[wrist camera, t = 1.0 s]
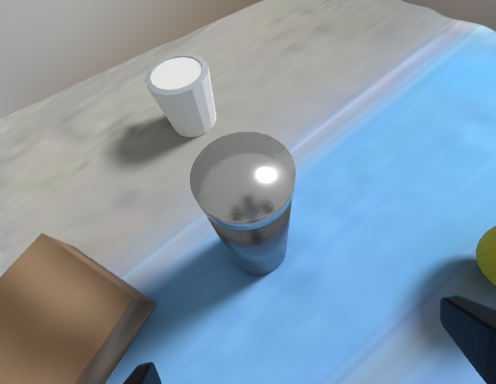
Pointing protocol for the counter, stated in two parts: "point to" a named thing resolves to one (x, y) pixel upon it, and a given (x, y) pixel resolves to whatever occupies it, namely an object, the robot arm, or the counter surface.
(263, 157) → the tea tin
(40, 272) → the walnut block
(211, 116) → the shot glass
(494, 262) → the lemon
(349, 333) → the counter surface
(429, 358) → the counter surface
